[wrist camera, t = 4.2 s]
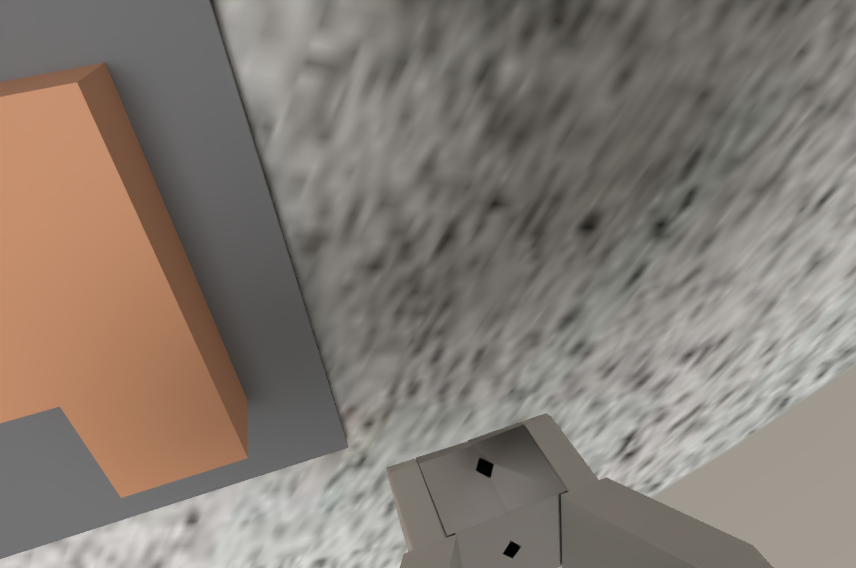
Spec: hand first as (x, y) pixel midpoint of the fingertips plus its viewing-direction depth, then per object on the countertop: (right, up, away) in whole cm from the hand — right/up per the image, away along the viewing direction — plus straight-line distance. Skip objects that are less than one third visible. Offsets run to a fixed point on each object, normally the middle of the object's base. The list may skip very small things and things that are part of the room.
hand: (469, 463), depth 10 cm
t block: (-13, +3, +7) cm, 15 cm away
